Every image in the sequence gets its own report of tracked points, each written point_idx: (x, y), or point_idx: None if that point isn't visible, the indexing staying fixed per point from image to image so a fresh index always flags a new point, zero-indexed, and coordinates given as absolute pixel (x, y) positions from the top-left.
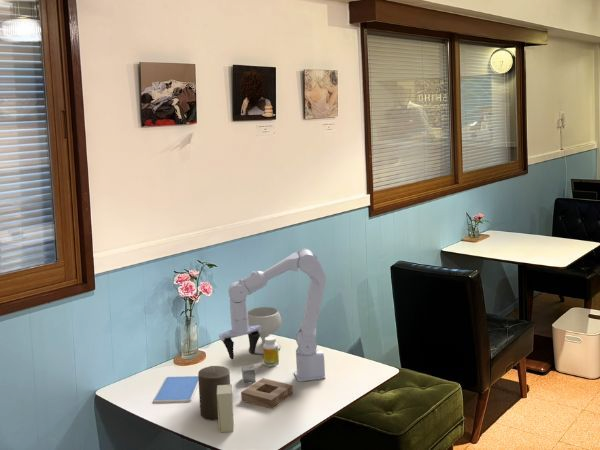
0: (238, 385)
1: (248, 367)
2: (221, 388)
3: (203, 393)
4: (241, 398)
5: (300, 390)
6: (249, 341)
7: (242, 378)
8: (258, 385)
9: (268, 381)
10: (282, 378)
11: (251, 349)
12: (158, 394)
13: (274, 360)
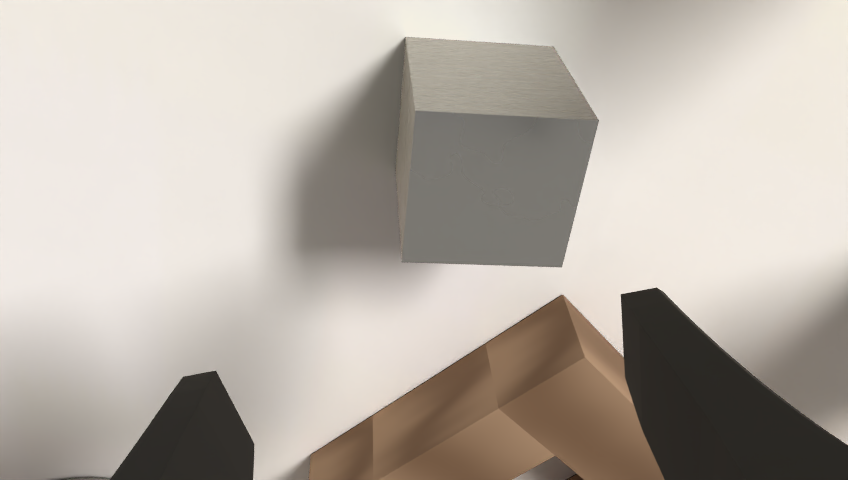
0: (327, 196)
1: (503, 185)
2: None
3: None
4: (309, 471)
5: None
6: (730, 462)
7: (404, 57)
8: (485, 466)
9: (601, 427)
10: (816, 191)
11: (652, 408)
12: None
13: None
